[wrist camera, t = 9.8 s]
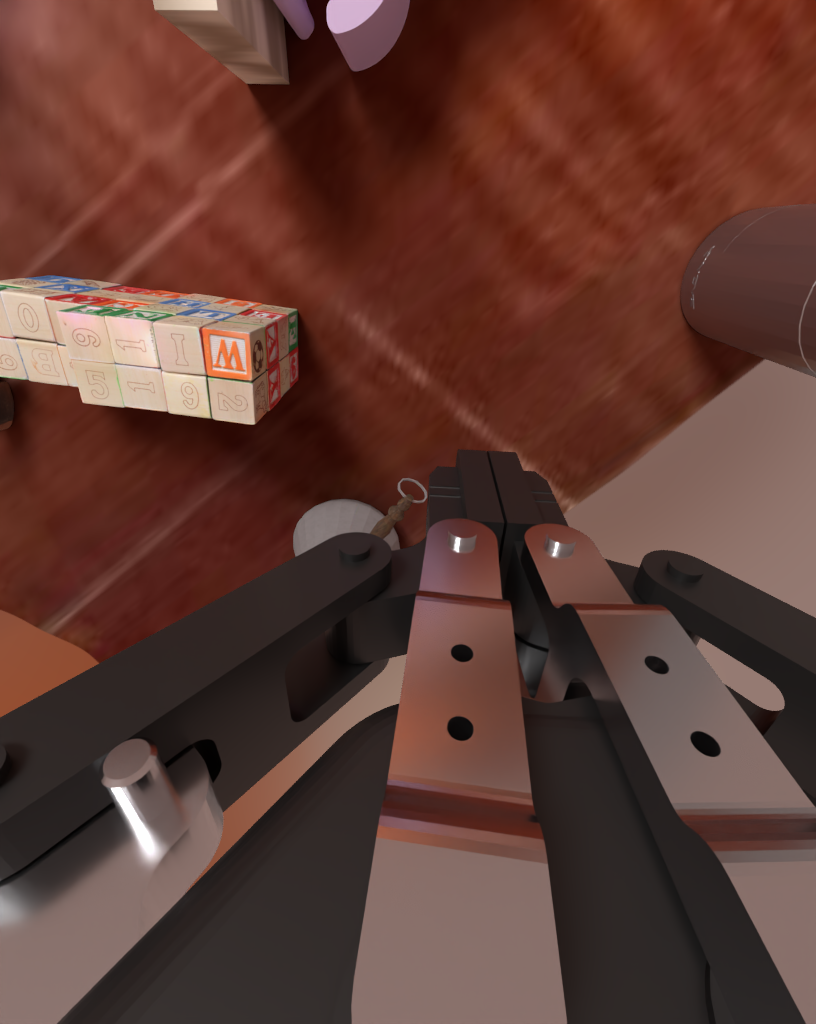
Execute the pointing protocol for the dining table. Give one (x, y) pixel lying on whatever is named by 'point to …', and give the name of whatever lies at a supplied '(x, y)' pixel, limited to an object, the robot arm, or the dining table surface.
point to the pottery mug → (6, 406)
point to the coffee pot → (350, 521)
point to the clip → (353, 26)
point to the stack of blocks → (149, 347)
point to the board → (235, 35)
